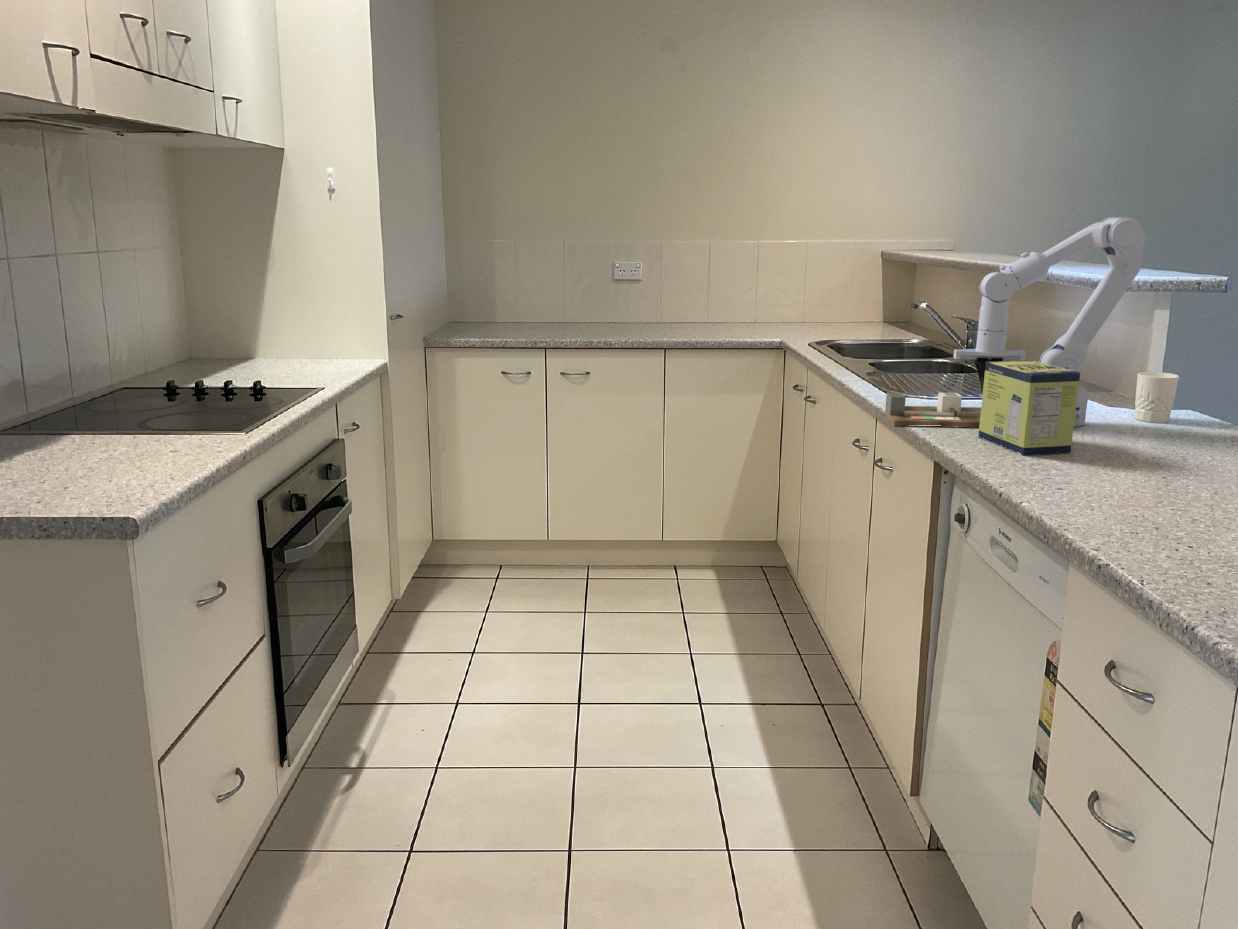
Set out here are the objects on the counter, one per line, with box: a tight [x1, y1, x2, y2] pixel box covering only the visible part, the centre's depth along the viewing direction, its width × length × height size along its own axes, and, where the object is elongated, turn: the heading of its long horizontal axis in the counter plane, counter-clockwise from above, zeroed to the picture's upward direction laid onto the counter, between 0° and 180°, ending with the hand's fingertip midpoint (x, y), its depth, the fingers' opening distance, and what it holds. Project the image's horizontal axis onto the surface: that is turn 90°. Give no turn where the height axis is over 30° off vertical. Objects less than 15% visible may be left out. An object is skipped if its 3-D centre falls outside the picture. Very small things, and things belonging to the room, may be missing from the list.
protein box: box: [978, 359, 1081, 456], centre depth 188 cm, size 10×16×16 cm
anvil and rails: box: [884, 391, 981, 417], centre depth 211 cm, size 21×6×4 cm, turn 85°
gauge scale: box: [910, 416, 961, 421], centre depth 207 cm, size 10×3×1 cm, turn 85°
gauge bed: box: [884, 409, 980, 429], centre depth 210 cm, size 22×11×1 cm, turn 85°
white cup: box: [1133, 371, 1180, 424], centre depth 211 cm, size 8×8×10 cm
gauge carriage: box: [936, 392, 963, 417], centre depth 209 cm, size 4×8×4 cm, turn 175°
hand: (985, 392), depth 210 cm, fingers closed
